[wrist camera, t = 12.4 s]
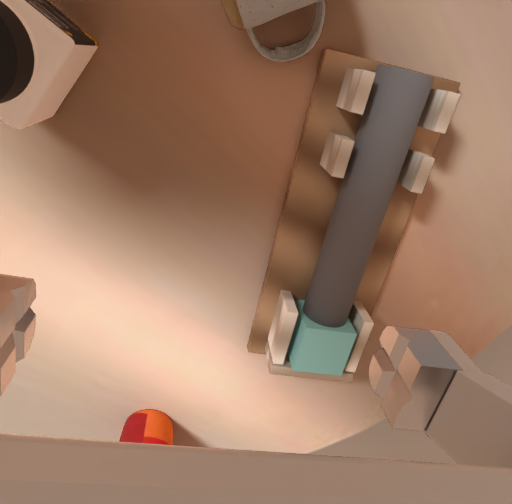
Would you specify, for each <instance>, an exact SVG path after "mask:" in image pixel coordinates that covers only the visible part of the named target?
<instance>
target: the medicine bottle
mask: <svg viewBox="0 0 512 504" xmlns="http://www.w3.org/2000/svg"><path fill="white" fill-rule="evenodd" d="M97 48H98V43H97V42H96V41H95V40H94V39H93V38H92V37H90V36H89V35H88V34H87V33H86V32H84V31H83V30H82V29H81V28H79V27H78V26H77V25H76V24H75V23H73V22H72V21H71V20H70V19H69V18H67V17H66V16H65V15H64V14H62V13H61V12H60V11H59V10H58V9H56V8H55V7H54V6H53V5H52V4H50V3H49V2H48V1H47V0H0V120H2V121H3V122H5V123H6V124H8V125H9V126H11V127H12V128H13V129H16V130H22V129H24V128H26V127H29V126H31V125H34V124H36V123H38V122H41V121H43V120H46V119H48V118H50V117H52V116H54V114H55V113H56V111H57V110H58V108H59V107H60V105H61V103H62V102H63V100H64V99H65V97H66V96H67V94H68V93H69V91H70V90H71V88H72V87H73V85H74V84H75V82H76V81H77V79H78V77H79V76H80V74H81V73H82V71H83V70H84V68H85V67H86V65H87V64H88V62H89V61H90V59H91V58H92V56H93V55H94V53H95V52H96V50H97Z"/></svg>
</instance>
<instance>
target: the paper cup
mask: <svg viewBox="0 0 512 504" xmlns="http://www.w3.org/2000/svg"><path fill="white" fill-rule="evenodd" d="M119 442H131V443H146V444H161V445H173V424H172V421H171V419H170V418H169V417H168V416H167V415H166V414H165V413H163V412H161V411H158V410H153V409H146V410H140V411H137V412H135V413H133V414H132V415H131V416H130V417H129V418H128V419H127V421H126V423H125V425H124V428H123V431H122V434H121V437H120V441H119Z"/></svg>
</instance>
